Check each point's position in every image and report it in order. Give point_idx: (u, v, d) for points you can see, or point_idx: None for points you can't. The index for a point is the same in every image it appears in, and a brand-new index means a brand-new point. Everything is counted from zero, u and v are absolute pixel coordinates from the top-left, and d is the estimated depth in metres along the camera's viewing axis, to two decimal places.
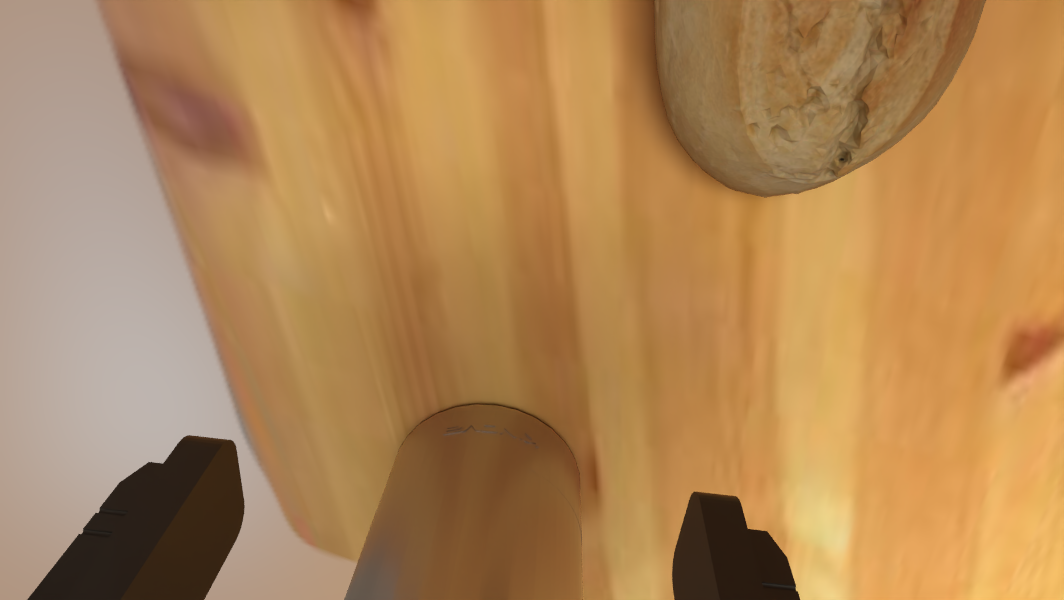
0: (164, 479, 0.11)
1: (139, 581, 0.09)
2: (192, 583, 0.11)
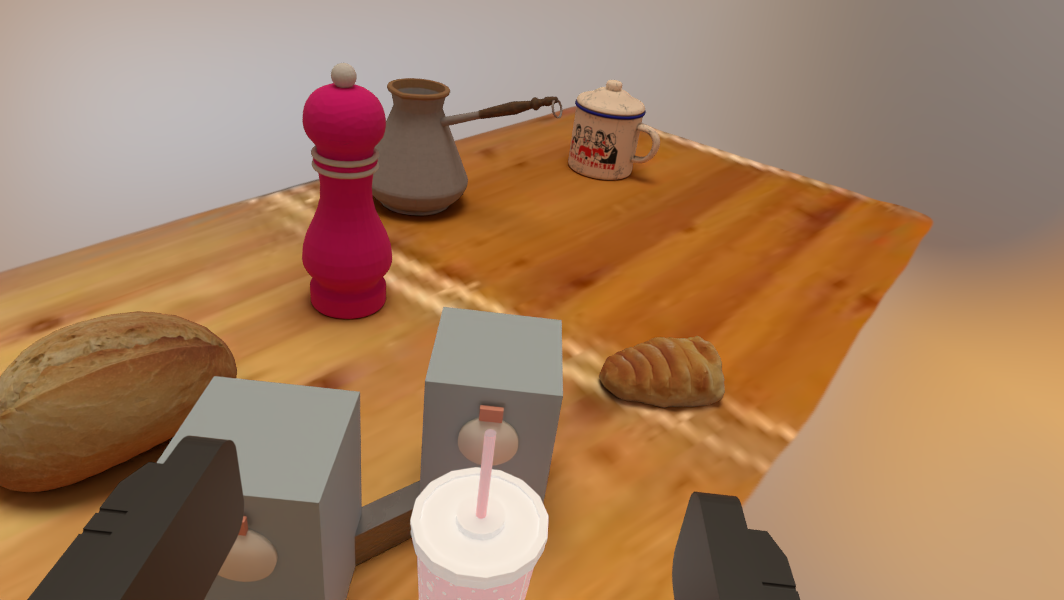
0: (164, 479, 0.11)
1: (139, 581, 0.09)
2: (192, 583, 0.11)
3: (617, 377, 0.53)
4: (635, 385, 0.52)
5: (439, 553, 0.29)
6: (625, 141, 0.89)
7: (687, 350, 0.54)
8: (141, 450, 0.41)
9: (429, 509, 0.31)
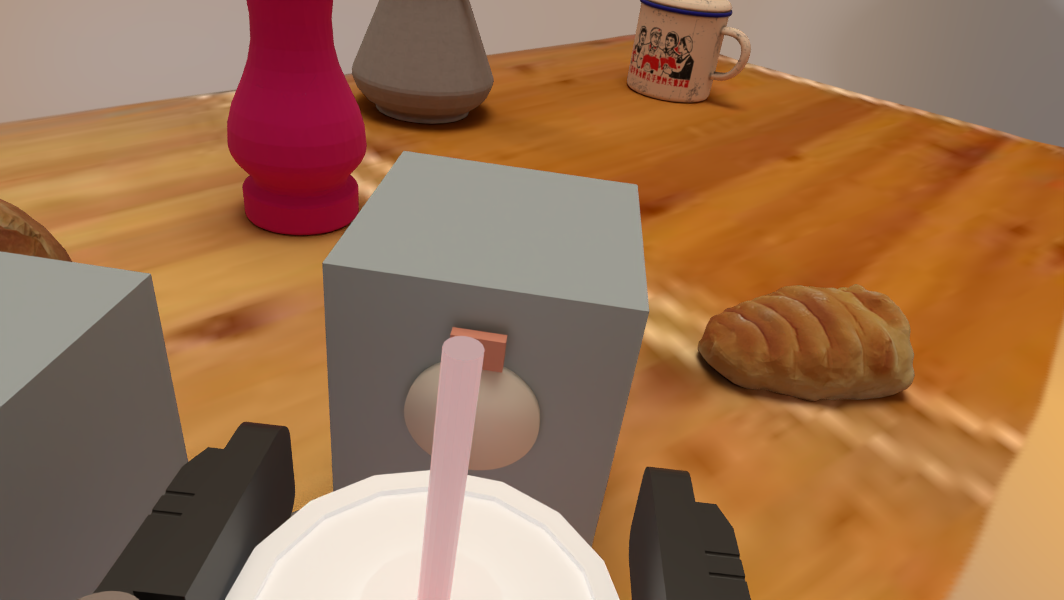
0: (227, 462, 0.11)
1: (211, 559, 0.10)
2: None
3: (735, 348, 0.31)
4: (767, 363, 0.30)
5: None
6: (704, 48, 0.68)
7: (850, 304, 0.32)
8: None
9: (287, 582, 0.11)
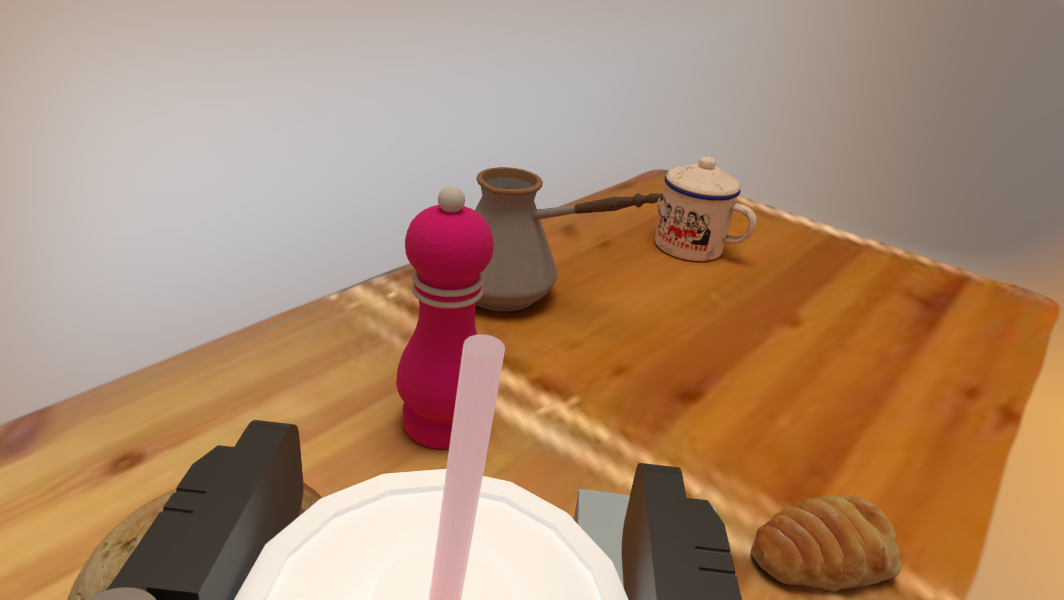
0: (237, 460, 0.11)
1: (224, 556, 0.10)
2: None
3: (780, 561, 0.45)
4: (803, 571, 0.44)
5: None
6: (719, 221, 0.83)
7: (854, 519, 0.46)
8: None
9: (298, 578, 0.11)
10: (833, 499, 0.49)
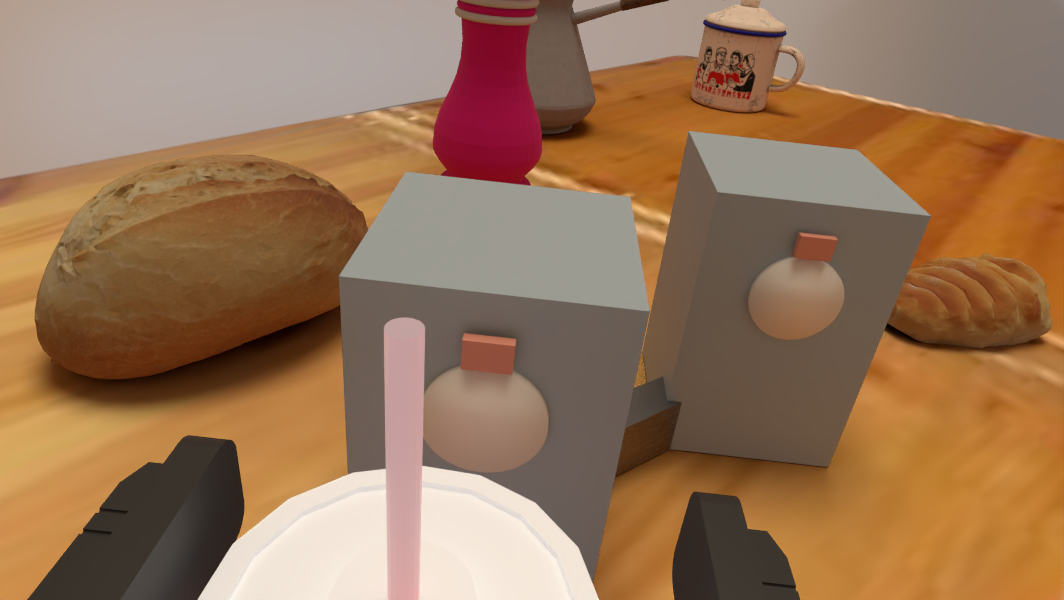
0: (164, 479, 0.11)
1: (138, 582, 0.09)
2: (192, 583, 0.11)
3: (919, 310, 0.37)
4: (948, 319, 0.37)
5: None
6: (764, 64, 0.77)
7: (996, 268, 0.39)
8: (259, 331, 0.30)
9: (264, 575, 0.11)
10: None
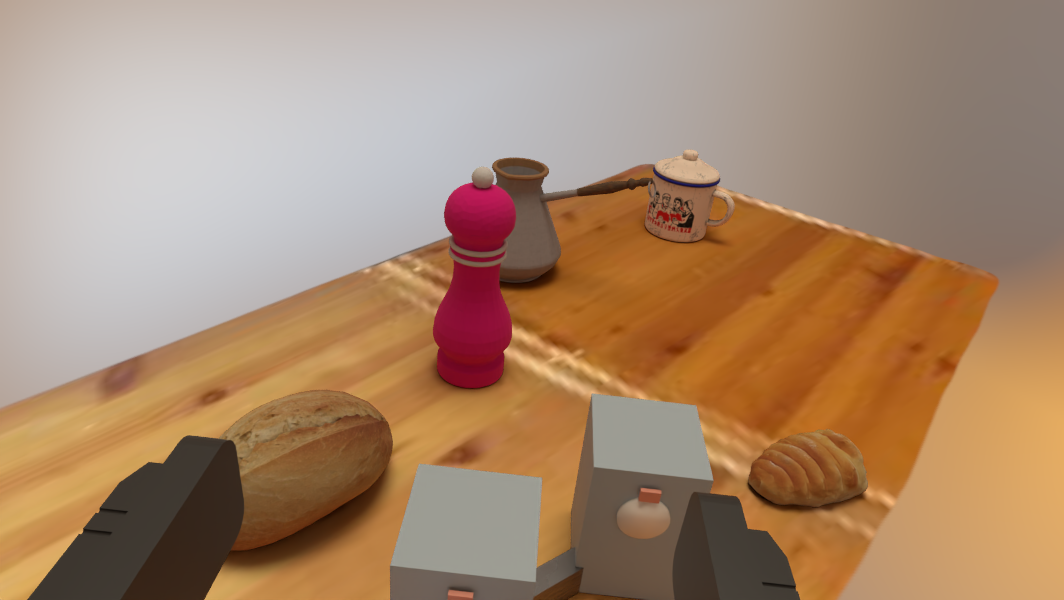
0: (164, 479, 0.11)
1: (139, 581, 0.09)
2: (192, 583, 0.11)
3: (774, 485, 0.54)
4: (793, 492, 0.54)
5: None
6: (701, 206, 0.95)
7: (829, 448, 0.56)
8: (324, 514, 0.48)
9: None
10: (810, 434, 0.59)
